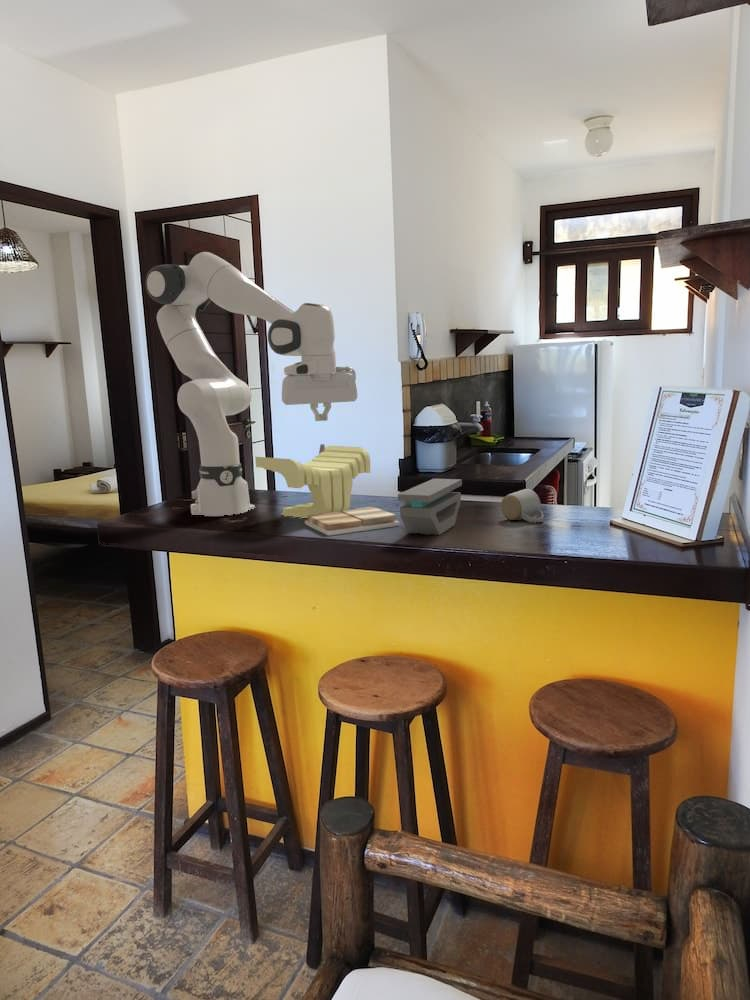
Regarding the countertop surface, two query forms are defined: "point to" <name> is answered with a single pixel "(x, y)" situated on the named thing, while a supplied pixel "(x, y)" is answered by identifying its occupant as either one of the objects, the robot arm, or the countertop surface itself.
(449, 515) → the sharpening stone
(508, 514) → the ceramic mug
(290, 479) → the yellow ribbed sculpture
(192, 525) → the countertop surface
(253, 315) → the robot arm
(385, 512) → the ash plank
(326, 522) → the oak plank
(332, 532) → the underlay board
